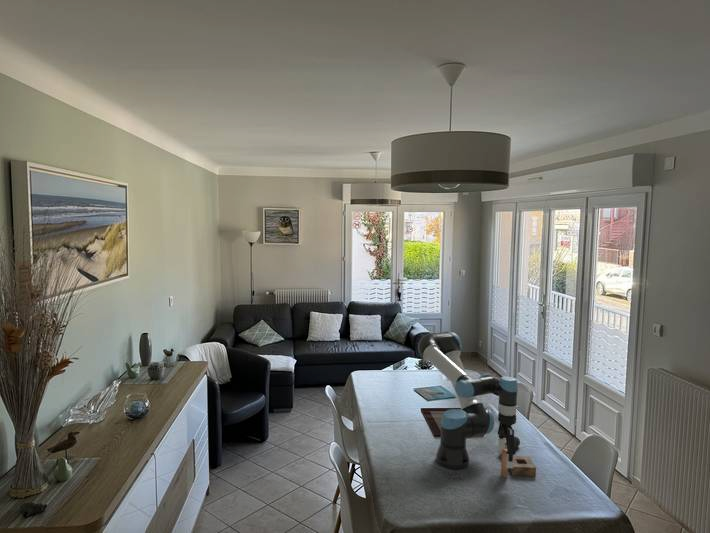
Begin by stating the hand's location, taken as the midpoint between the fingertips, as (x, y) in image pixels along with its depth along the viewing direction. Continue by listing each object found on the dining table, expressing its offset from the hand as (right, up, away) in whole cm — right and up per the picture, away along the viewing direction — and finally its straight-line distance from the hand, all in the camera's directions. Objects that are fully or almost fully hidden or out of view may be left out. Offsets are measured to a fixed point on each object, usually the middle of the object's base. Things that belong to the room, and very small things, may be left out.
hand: (505, 460), depth 208 cm
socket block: (+9, -7, +6) cm, 13 cm away
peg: (0, -7, +1) cm, 8 cm away
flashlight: (+10, -6, +24) cm, 27 cm away
